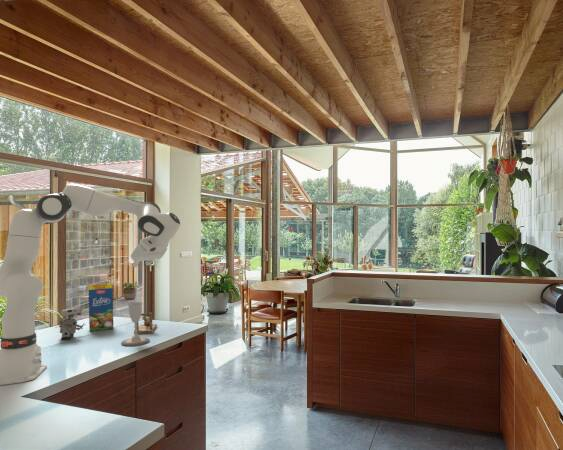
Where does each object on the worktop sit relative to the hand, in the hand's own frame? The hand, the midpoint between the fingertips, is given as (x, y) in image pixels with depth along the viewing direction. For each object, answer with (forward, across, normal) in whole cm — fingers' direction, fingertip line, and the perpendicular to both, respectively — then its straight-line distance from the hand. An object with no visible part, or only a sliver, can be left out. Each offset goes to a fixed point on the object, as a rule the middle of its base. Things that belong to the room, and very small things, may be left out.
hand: (140, 265), depth 204 cm
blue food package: (+58, -21, -8) cm, 62 cm away
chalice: (+32, -3, +20) cm, 38 cm away
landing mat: (+32, -2, +21) cm, 38 cm away
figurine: (+59, -2, -9) cm, 59 cm away
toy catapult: (+40, -25, +12) cm, 48 cm away
